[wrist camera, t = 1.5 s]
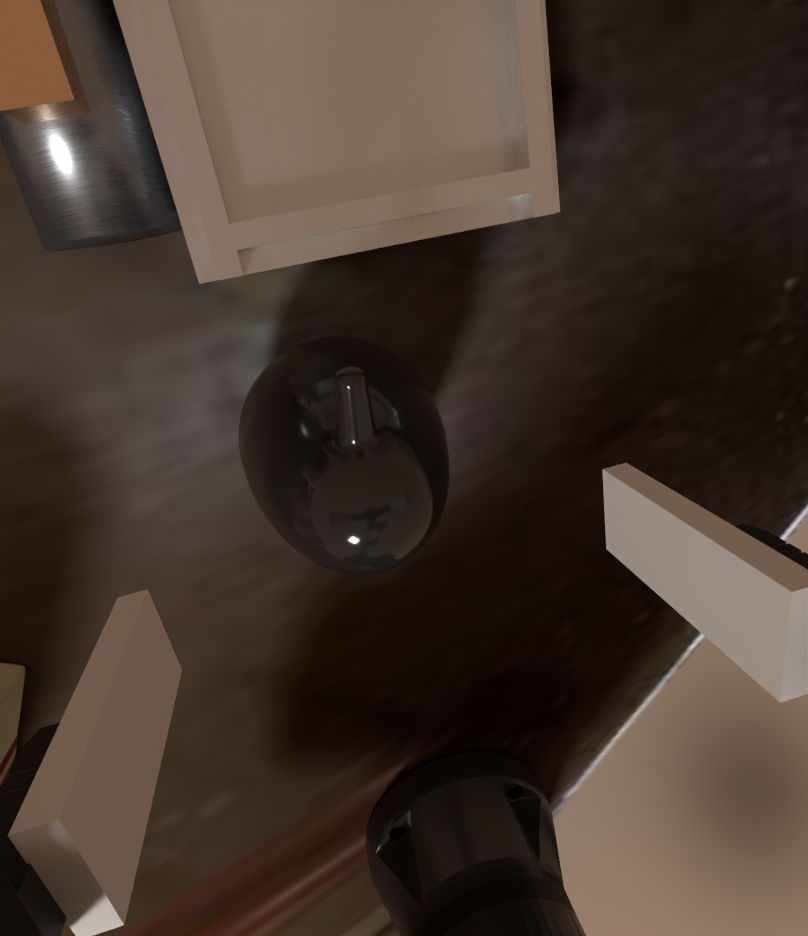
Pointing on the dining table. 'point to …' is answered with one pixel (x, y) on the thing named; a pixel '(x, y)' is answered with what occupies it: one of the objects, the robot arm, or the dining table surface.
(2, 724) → the gift box
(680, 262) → the dining table surface
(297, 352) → the pump dispenser
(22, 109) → the white tray
